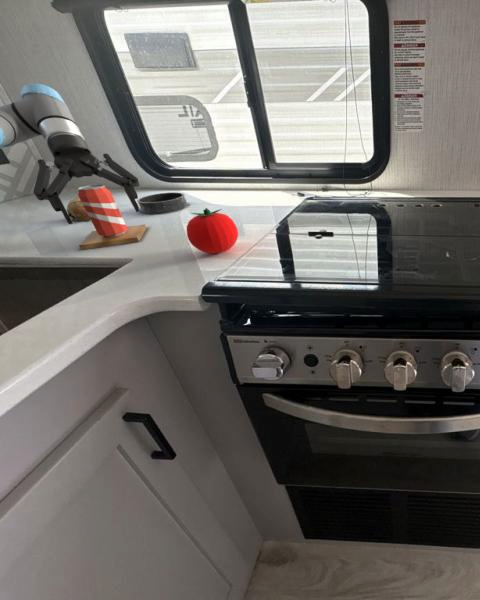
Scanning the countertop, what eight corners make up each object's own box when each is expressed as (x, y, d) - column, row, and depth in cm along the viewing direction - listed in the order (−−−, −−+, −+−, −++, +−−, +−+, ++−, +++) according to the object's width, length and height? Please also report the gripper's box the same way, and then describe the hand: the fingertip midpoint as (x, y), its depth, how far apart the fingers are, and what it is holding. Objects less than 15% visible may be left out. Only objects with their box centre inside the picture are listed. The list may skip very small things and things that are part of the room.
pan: (138, 216, 103) (133, 205, 101) (146, 205, 114) (141, 195, 112) (185, 210, 108) (182, 199, 106) (189, 200, 118) (185, 190, 116)
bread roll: (75, 229, 104) (50, 209, 98) (99, 207, 109) (76, 187, 103) (98, 232, 102) (73, 212, 95) (121, 209, 107) (99, 189, 100)
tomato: (190, 250, 79) (174, 209, 74) (235, 240, 85) (223, 200, 80) (200, 264, 72) (184, 220, 67) (248, 252, 78) (237, 210, 73)
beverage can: (134, 231, 88) (112, 185, 81) (107, 239, 83) (82, 190, 76) (120, 228, 90) (98, 183, 84) (94, 236, 85) (68, 188, 79)
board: (81, 249, 81) (78, 245, 80) (94, 235, 89) (92, 231, 89) (139, 241, 85) (137, 237, 84) (146, 228, 93) (145, 224, 93)
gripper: (128, 148, 94) (163, 212, 92) (3, 159, 79) (42, 235, 78) (123, 129, 88) (160, 196, 86) (-13, 136, 73) (29, 217, 72)
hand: (105, 214), depth 82 cm, fingers open, 13 cm apart
